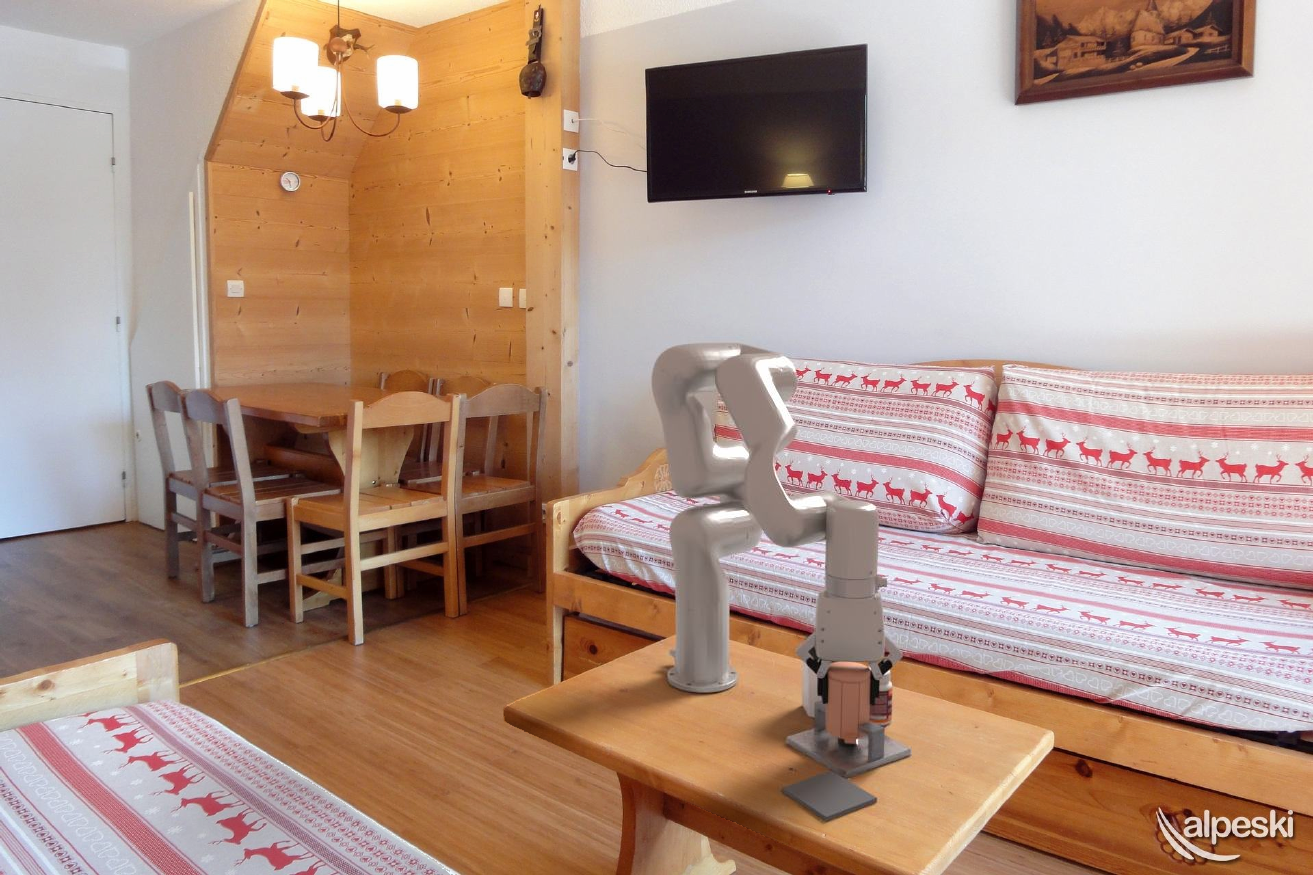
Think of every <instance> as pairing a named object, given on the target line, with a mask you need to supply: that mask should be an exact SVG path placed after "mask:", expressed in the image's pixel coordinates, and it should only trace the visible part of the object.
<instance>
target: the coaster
mask: <svg viewBox="0 0 1313 875" xmlns="http://www.w3.org/2000/svg"><path fill="white" fill-rule="evenodd" d="M781 792H782V793H783V794H785V795H786V796H787V797H789V798H791V799H792V800H793V801H795V802H796V803H798V804H799V805H801V806H803V807H804V808H805V809H807V810H808V811H810V812H811V813H813V814H815V815H816V816H818V818H820V819H822V820H824V821H825V822H828V821H831V820H833V819H836V818H839V817H841V816H845V815H847V814H849V813H851V812H854V811H857V810H859V809H862V808H865V807H867V806H870V805H872V804H874V803H877V802H878V797H877V796H875V795H873V794H872V793H870V792H868V791H866V789H863V788H861V787H859V786H858V785H857V784H855V783H853V782H851V781H850V780H848V779H847V778H845V777H843V776H841V775H839V774H838V773H836V772H834V771H833V770H828V771H826V772H822V773H819V774H817V775H814V776H811V777H808V778H806V779H802V780H799V781H797V782H794V783H791V784H788V785H786V786H783V787H782V786H781Z"/></svg>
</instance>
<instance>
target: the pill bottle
mask: <svg viewBox="0 0 1313 875" xmlns="http://www.w3.org/2000/svg"><path fill="white" fill-rule="evenodd" d="M868 667H869V668H870V666H868ZM870 670H871V668H870ZM892 714H893V684H892V682H891V669H890V670H889V671H888V672H886V673H885V674H884V675H883V676H882V679H880V686H879V698H875V706H871V705H870V718H869V722H870V721H871V722H873V723H875V724H877V725H879V726H881V727H883V726H887V725H889V724H890V723H891V722H892V719H893V718H892V716H893V715H892Z"/></svg>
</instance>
